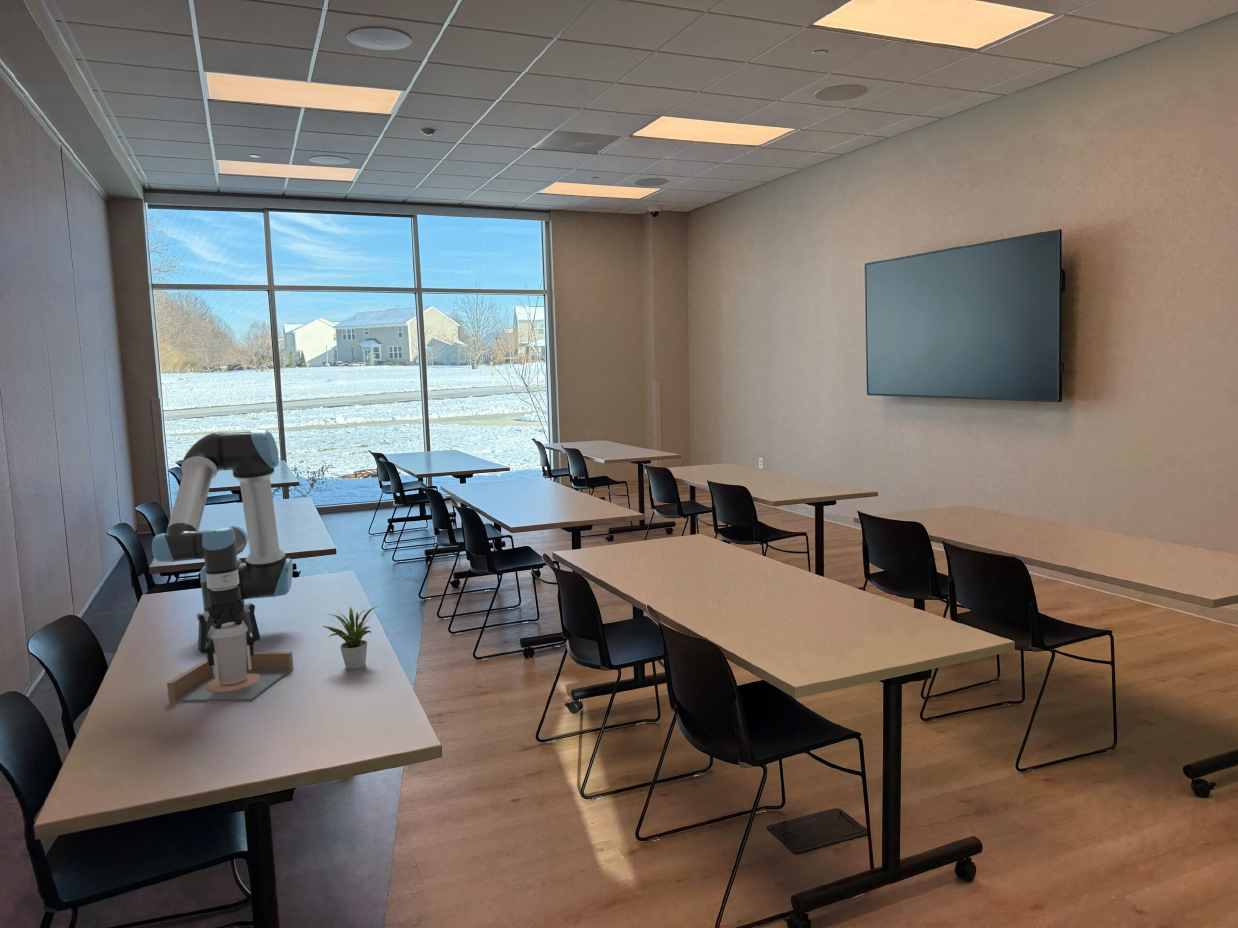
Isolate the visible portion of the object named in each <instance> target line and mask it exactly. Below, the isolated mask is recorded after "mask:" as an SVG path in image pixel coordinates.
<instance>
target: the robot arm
mask: <svg viewBox="0 0 1238 928" xmlns="http://www.w3.org/2000/svg"><path fill="white" fill-rule="evenodd" d="M279 464H280V458H279V450H278V446H277V442H276V440H275V438H274V436H273V434H272V433H271V432H270V431H268V429H267V430H265V429H247V430H246V429H245V430H233V431H232V430H231V431H216V432H212V433H210V434H206V435H204V436H203V437H202V438H200V439H199V440H198V441H196V442H195V443H193V445H192V446H190V448H189V449H188V450H187V452H186V453H185V456H184V457H183V459H182V462H181V468H180V469H181V472H182V475H181V480H180V484H179V487H178V490H177V494H176V497H175V500H174V505H173V509H172V512H171V515H170V519H169V522H168V525H167V529H166V532H162V533H158V534H156V535H155V536H153V539H152V541H151V550H152V555H153V557H154V559H155V561H157V562H159V563H171V562H172V563H175V562H183V561H193V560H204V566H203V567H202V568H201V570H200V571H199V572H200V573H199V574H200V581H199V582H200V585H201V593H202V605H203V613H197V614H196V618H197V621H198V636H197V637H198V641H197V644H198V645H197V651H198V652H199V653H200V654H206V659H207V661H208V664H209V665H210V666H212V667H213V676H214V677H215V678H219V669H218V661H217V657H216V653H214V652H213V651H214V644H213V640H212V639H210V638H209V637H208V633H209V631H210V628H211V626H212V625H213V627H214V628H215V629H220V628H221V627H222V624H225V623H227V622H235V623H236V624H238V625H239V624H241V623H242V621H244V623H245V625H247V627H248V631H247V632H246V644H247V646H246V649H247V669H248V670H251V669H252V667H251V657H250V656H253V655H254V652H255V650H254V649H255V648H254V644H255V642H257V641H259V640H260V639H261V634H260V632H259V631H260V630H259V628H258V623H257V619H256V616H255V615H256V614H255V610H256V606H255V605H256V604H253V603H252V602H249V603H245V600H254V599H262V598H263V599H264V598H265V599H266V598H276V597H281V596H286V595H288V593H290V590H291V588H292V582H293V581H292V580H293V570H294V569H293V568H294V567H293V560H292V558H290V557H287V558H286V552H285V551H284V550H282V549H281V548H280V545H279V536H278V530H277V522H276V521H277V520H276V514H275V507H274V498H273V491H272V484H271V476H272V475H273V474H274V473H275V468H277V467H278V465H279ZM220 471H232V475H233V478H234V479H236V480H238V481H239V486H240V493H241V500H242V506H243V514H244V520H245V528H246V531H245V530H244V529H243V528H241V527H240V526H234V525H232V526H231V525H230V526H227V525H226V526H225V525H224V526H214V527H210V528H206V529H204V530H200V526H201V523H202V522H201V521H202V517H203V514H204V510H205V506H206V502H207V498H208V495H209V492H210V491H209V490H210V487H211V484H212V480H213V479H214V478H216V476H217V474H218V472H220ZM247 544H248V548H249V553H248V554H247V556H246V558H245V562H242V560H241V559H240V558H239V557H238V555H239V554H241V553H242V552H243V551H244V550H245V548H246V547H247ZM250 633H251V635H252V636H251V635H250Z"/></svg>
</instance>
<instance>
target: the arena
mask: <svg viewBox="0 0 1238 928" xmlns="http://www.w3.org/2000/svg"><path fill="white" fill-rule="evenodd" d="M250 657H251V667H252V669H251V670H248V669H247V679H246V680H244V681H242V682H240V683H237V684H232V685H222V684H220V683H219V678H215V677H214V676H213V667H212V666H210V665H209V664H208V661H207V658H205V659H204V660H202V661H200V662H199V663H198V664H196V665H194V666H192V667H191V668H188V670H186V671H185V672H183V673H181V674H179V675H178V676H176V677H174V678H173V679H170V680H169V681H168V682H166V685H167V696H168V702H169V703H200V702H201V703H202V702H203V703H204V702H206V703H208V702H209V701H211V703H212V701H224V702H253V701H254V700H256V699H257V698H258V697H259V696H260V695H262V694H263V693H265V692H267V690H269V689H270V688H271V687H272V686H274V685H275V684H277V683H278V682H279V681H280V680H281V679H283V678H285V676H287V675H288V674H290V671H291V672H292V671H294V662H293V661H294V660H293V651H254V655H253V656H250Z"/></svg>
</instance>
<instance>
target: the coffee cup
mask: <svg viewBox="0 0 1238 928" xmlns="http://www.w3.org/2000/svg"><path fill="white" fill-rule="evenodd" d="M247 631H248V627H247V625H245V623H244V621H242V623H241V624H239V625H238V624H236V623H235V622H227V623H225V624H222V627H221V628H220V629H215V628H214V627H213V625H212V626H211V628H210V631H209V633H208V637H209V638H210V639H212V640H213V644H214V651H213V652H214V653H216V657H217V661H218V669H219V683H220V684H222V685H232V684H237V683H240V682H242V681H244V680H246V679H247V649H246V646H247V644H246V643H247V642H246V632H247Z"/></svg>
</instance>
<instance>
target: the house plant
mask: <svg viewBox="0 0 1238 928" xmlns="http://www.w3.org/2000/svg"><path fill="white" fill-rule="evenodd" d="M374 609H377V606H376V607H372V608H369V610H368V611H367V609H364V610H362V611H361V612H360V613H359V612H358V611H357V612H356V613H355V617H354V611H353V609H352V607H351V606H350V607H349V611H348V613H349V615H348V618H347V617H346V616H345V615H343V614H342V613H340V612H338V614H340V615H341V616H342V617H341V616H339V615H336V614H331V613H329V614H328V615H330V616H332V617H333V618H334V619H337V620H338V621H340V622H341V625H340V627H341V628H342V629H344V630H345V631H346V632H344V631H343V630H341V629H339V628H335V627H333V626H327V625H325V626H324V625H323V626H322V627H323V628H325V629H328V630H329V631H331V632H332V634H330V635H328V638H330V637H331V636H332V637H333V636H339V637H340V638H342V639H343V640H344V642H343V643H341V644H340V645H339V646H340V652H341V655H342V659H343V662H344V666H345V669H346V668H347V670H359V669H362V668H364V667H365V666H366V662H367V649H368V648H367V647H368V641H367V640H365V639H362V638H363V637H364V636H365V635H367V634H368V633H369V634H370V635H371V634H372V631H371V630H369V629H371V626H365V625H366V623H367V622H368V620H369V619H370V618H371V616H372V615H371V616H369V617H368V615H369V614H370V613H371V612H372V611H373V610H374ZM366 611H367V612H366ZM363 612H366V613H365V614H364V615H363V616H362V618H361V621H359V619H360V617H361V615H362V613H363ZM367 617H368V618H367ZM366 618H367V620H366ZM344 619H345V620H344ZM348 619H349V620H348ZM365 620H366V621H365ZM330 621H332V622H334V623H336V624H337V625H339V623H338V622H336V621H334V620H332V619H330ZM358 622H359V623H358Z"/></svg>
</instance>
